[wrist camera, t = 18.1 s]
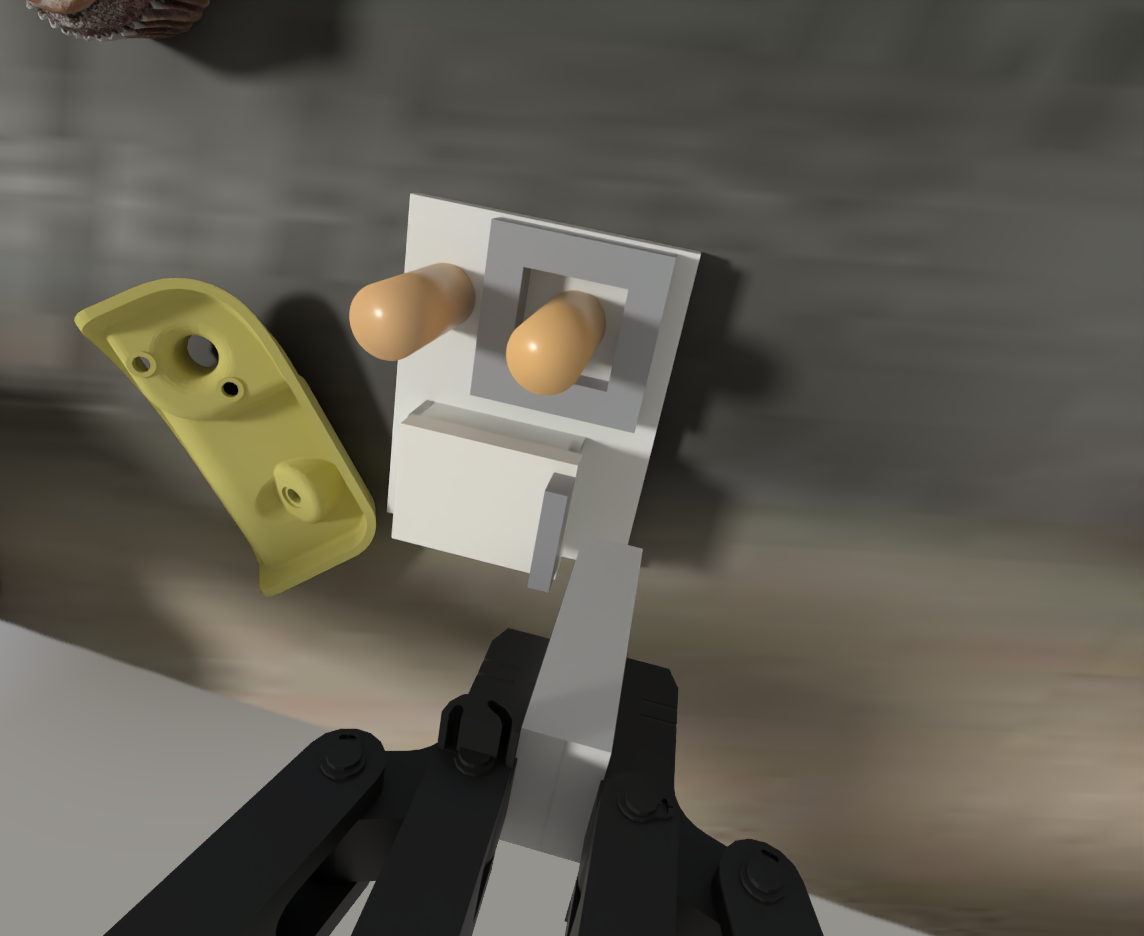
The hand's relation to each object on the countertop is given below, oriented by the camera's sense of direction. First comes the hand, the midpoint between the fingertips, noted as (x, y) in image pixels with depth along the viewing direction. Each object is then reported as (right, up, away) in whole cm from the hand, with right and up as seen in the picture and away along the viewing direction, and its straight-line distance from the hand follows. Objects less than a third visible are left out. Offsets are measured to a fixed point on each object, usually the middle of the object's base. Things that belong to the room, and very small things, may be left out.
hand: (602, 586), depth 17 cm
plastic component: (-21, +6, +29) cm, 36 cm away
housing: (-3, +8, +24) cm, 26 cm away
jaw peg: (-1, +11, +21) cm, 23 cm away
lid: (-6, +2, +22) cm, 23 cm away
